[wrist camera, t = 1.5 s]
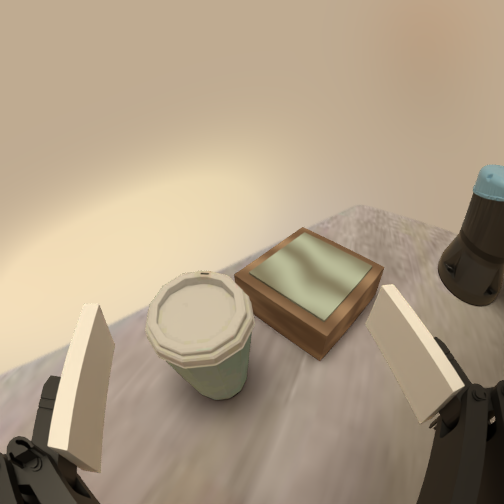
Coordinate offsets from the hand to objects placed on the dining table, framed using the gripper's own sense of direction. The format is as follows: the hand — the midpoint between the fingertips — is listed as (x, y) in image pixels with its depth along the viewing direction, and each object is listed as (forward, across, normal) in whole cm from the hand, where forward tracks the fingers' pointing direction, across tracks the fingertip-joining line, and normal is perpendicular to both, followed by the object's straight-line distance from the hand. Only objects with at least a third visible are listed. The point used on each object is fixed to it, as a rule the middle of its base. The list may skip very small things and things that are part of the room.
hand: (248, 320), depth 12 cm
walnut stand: (+22, +14, -20) cm, 34 cm away
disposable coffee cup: (+12, -1, -24) cm, 26 cm away
